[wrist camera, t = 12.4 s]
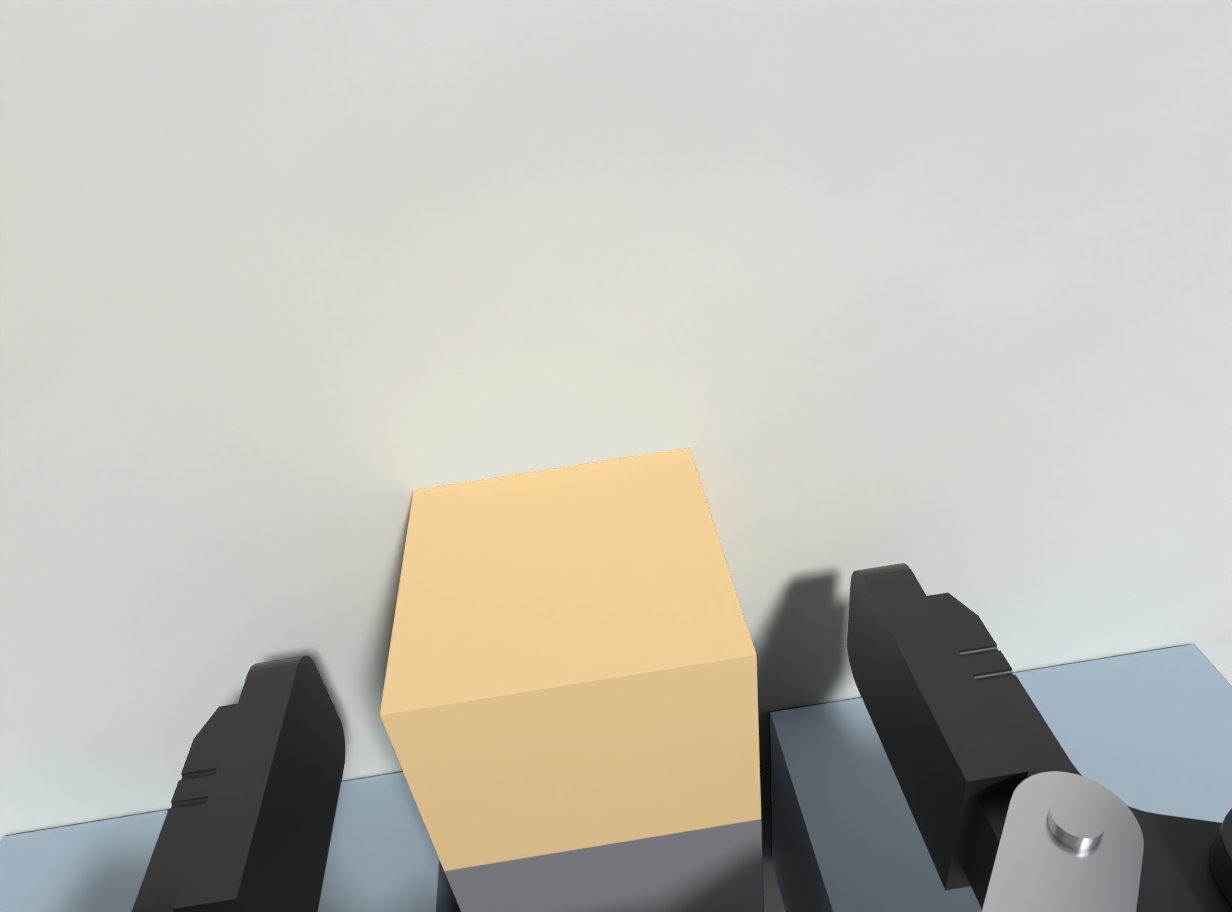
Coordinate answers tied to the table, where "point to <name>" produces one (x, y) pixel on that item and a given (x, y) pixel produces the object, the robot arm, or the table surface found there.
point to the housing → (801, 803)
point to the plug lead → (578, 692)
